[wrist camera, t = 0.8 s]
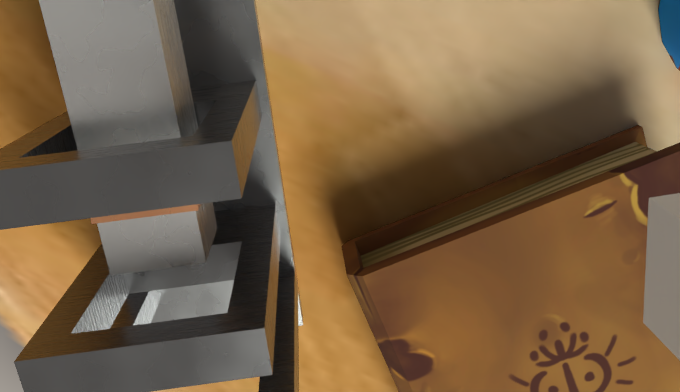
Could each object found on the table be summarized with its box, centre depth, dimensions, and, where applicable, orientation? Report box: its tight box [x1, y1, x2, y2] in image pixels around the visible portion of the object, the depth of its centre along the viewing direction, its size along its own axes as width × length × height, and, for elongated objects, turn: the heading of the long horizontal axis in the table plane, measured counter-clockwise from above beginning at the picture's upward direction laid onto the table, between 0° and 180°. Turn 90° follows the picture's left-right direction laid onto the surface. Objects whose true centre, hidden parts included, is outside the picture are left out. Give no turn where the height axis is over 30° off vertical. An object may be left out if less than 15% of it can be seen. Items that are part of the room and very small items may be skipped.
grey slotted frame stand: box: [0, 0, 303, 392], centre depth 26 cm, size 36×10×15 cm, turn 6°
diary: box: [342, 125, 680, 392], centre depth 38 cm, size 23×19×6 cm
